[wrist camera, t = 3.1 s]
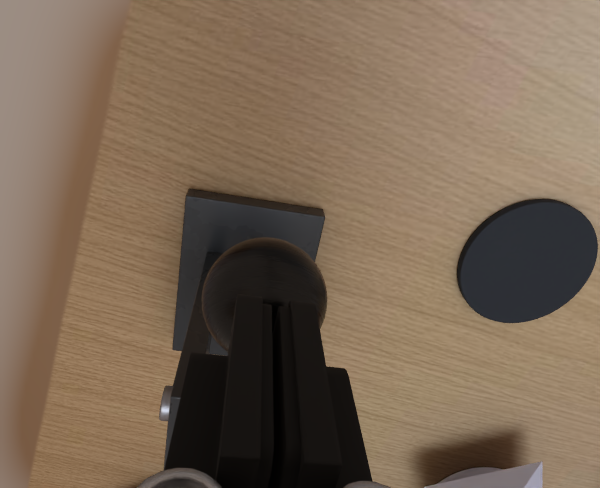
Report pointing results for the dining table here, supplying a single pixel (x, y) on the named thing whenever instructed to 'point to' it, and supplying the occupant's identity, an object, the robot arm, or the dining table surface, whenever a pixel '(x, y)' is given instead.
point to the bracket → (207, 249)
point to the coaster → (527, 261)
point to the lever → (260, 282)
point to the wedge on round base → (495, 478)
